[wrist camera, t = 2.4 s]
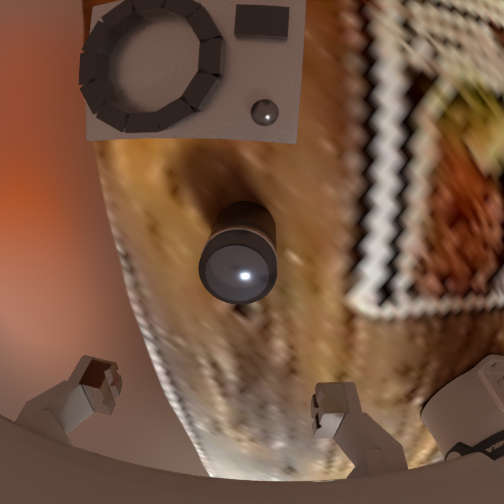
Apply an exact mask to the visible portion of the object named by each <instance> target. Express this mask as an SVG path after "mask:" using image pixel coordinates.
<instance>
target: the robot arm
mask: <svg viewBox="0 0 504 504" xmlns="http://www.w3.org/2000/svg"><path fill="white" fill-rule="evenodd" d="M117 370H118V366H117V363H115V362H111V361H107V360H103V359H99V358H95V357H90V356H86V355H84V356H83V357H81V359H80V361H79V362H78V364H77V366H76V367H75V369H74V371H73V373H72V374H71V376H70V378H69V380H68V381H66V380H65V381H63V382H61V383H59V384H58V385H56V386H54V387H52V388H50V389H49V390H47V391H45V392H43V393H42V394H40V395H38V396H36V397H35V398H33V399H31V400H29V401H27V402H26V404H25V406H24V407H23V409H22V411H21V412H20V414H19V416H18V418H17V419H16V421H15V422H14V421H12V420H10V419H8V418H6V417H4V416H2V415H0V504H504V356H501V355H488V356H487V357H485V358H484V359H483V360H481V361H480V362H479V363H478V364H477V365H476V366H475V367H474V368H472V369H471V370H469V371H468V372H466V373H464V374H463V375H461V376H459V377H457V378H456V379H454V380H453V381H451V382H450V383H448V384H447V385H446V386H444V387H443V388H442V389H441V390H439V391H438V392H437V393H436V394H435V395H434V396H433V397H432V398H431V399H430V400H429V402H428V403H427V404H426V406H425V407H424V409H423V411H422V414H421V421H422V422H423V424H424V425H425V426H426V427H427V429H428V430H429V431H430V433H431V434H432V436H433V438H434V439H435V441H436V443H437V445H438V447H439V449H440V451H441V453H442V455H443V457H444V460H445V461H444V462H439V463H436V464H431V465H427V466H422V467H418V468H413V469H408V466H407V462H406V458H405V455H404V451H403V448H402V445H401V444H400V443H399V442H398V441H396V440H395V439H394V438H393V437H392V436H391V435H390V434H389V433H388V432H386V431H385V430H384V429H383V428H382V427H381V426H380V425H379V424H378V423H376V422H375V421H374V420H373V419H372V418H371V417H370V416H369V415H368V414H367V413H362V409H361V405H360V401H359V397H358V393H357V389H356V386H355V383H354V382H318V383H317V384H316V387H315V392H316V393H315V394H314V395H313V396H312V400H311V417H312V418H313V419H314V421H313V424H312V430H313V438H333V439H334V440H335V442H336V443H337V444H338V445H339V447H340V448H341V449H342V450H343V452H344V453H345V454H346V455H347V456H348V458H349V459H350V460H351V461H352V463H353V464H354V465H355V466H356V467H355V468H354V469H353V470H352V472H351V473H350V474H349V475H348V477H347V479H335V480H320V481H251V480H236V479H224V478H215V477H205V476H198V475H191V474H184V473H178V472H172V471H167V470H161V469H156V468H152V467H147V466H142V465H138V464H134V463H130V462H125V461H122V460H118V459H114V458H111V457H107V456H103V455H100V454H97V453H94V452H90V451H87V450H84V449H81V448H78V447H75V446H73V444H72V442H71V441H70V439H69V438H68V436H67V435H66V434H67V433H68V432H70V431H71V430H72V429H74V428H75V427H76V426H77V425H78V424H80V423H81V422H82V421H84V420H85V419H86V418H87V417H88V416H90V415H91V414H92V413H94V412H93V411H95V412H99V413H103V414H107V415H111V414H112V412H113V410H114V407H115V405H116V403H115V400H114V399H115V398H117V397H118V396H119V395H120V392H121V388H122V379H121V375H120V374H119V373H118V372H117Z"/></svg>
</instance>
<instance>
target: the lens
mask: <svg viewBox="0 0 504 504" xmlns="http://www.w3.org/2000/svg"><path fill="white" fill-rule="evenodd" d="M277 265H278V261H277V252H276V227H275V222H274V220H273V217H272V216H271V214H270V213H269V212H268V211H267V210H266V209H265V208H264V207H263V206H261V205H259V204H257V203H254V202H249V201H241V202H236V203H233V204H231V205H229V206H227V207H226V208H225V209H224V210H223V211H222V212H221V213H220V215H219V216H218V218H217V221H216V223H215V225H214V228H213V230H212V232H211V234H210V237H209V239H208V241H207V242H206V244H205V247H204V249H203V252H202V255H201V258H200V261H199V276H200V279H201V281H202V283H203V285H204V287H205V288H206V289H207V290H208V292H209V293H210V294H212V295H213V296H214V297H216V298H217V299H219V300H221V301H224V302H226V303H230V304H240V305H241V304H249V303H253V302H256V301H258V300H260V299H262V298H263V297H265V296H266V295H267V294H268V293H269V292H270V291H271V289H272V288H273V286H274V284H275V281H276V277H277Z"/></svg>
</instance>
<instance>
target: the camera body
mask: <svg viewBox="0 0 504 504" xmlns="http://www.w3.org/2000/svg"><path fill="white" fill-rule="evenodd" d="M305 13H306V0H120V1H115V2H110V3H106V4H102V5H97V6H93V9H92V17H91V25H90V35H89V37H88V39H87V41H86V42H85V44H84V46H83V48H82V50H84V51H86V52H85V53H81V54H80V70H79V85H83V86H82V87H81V88H80V90H81V92H82V94H83V96H84V98H85V100H86V135H87V141H96V140H114V139H139V138H207V139H233V140H251V141H266V142H278V143H289V144H296V139H297V127H298V116H299V103H300V91H301V77H302V63H303V48H304V31H305Z"/></svg>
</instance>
